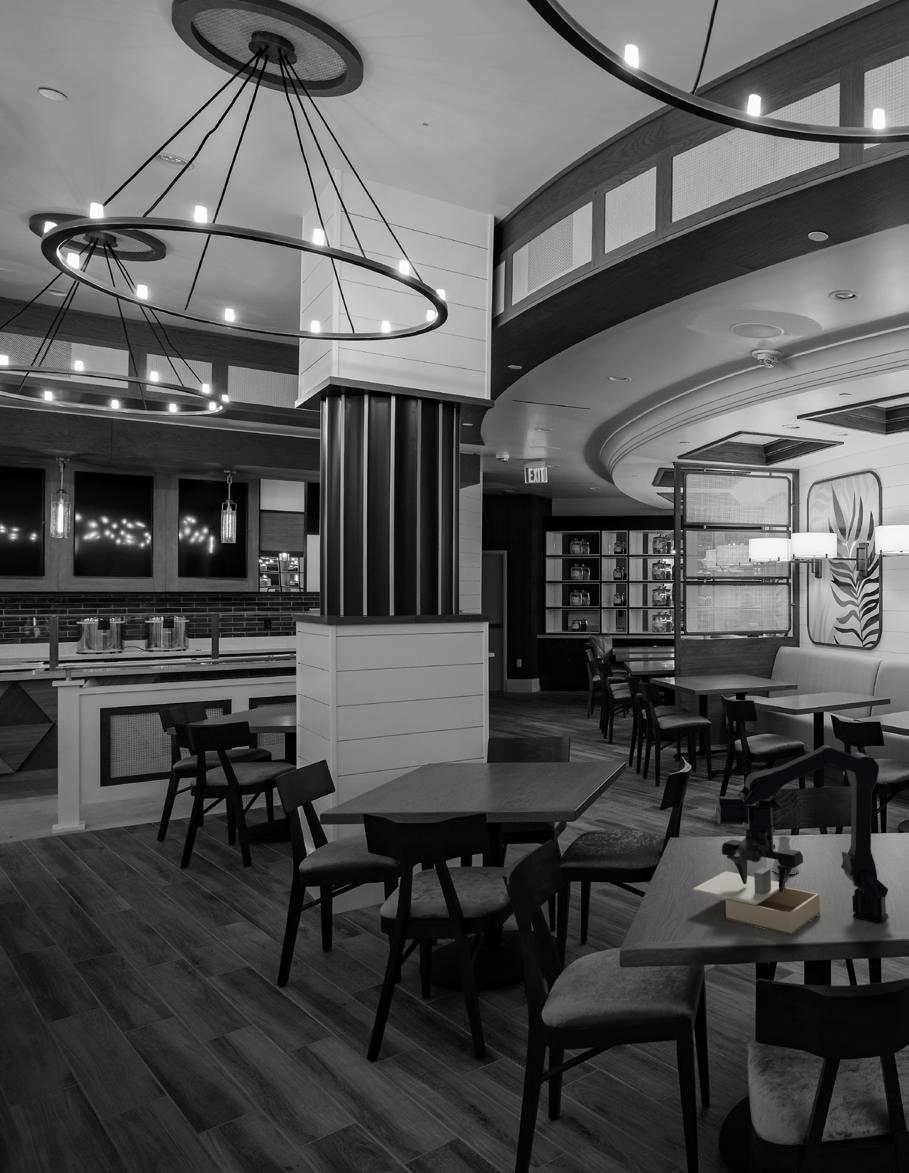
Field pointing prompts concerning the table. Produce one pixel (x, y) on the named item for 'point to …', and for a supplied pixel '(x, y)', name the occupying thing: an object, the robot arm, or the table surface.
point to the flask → (782, 846)
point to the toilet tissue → (751, 865)
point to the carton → (777, 911)
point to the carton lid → (741, 886)
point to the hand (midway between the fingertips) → (762, 887)
